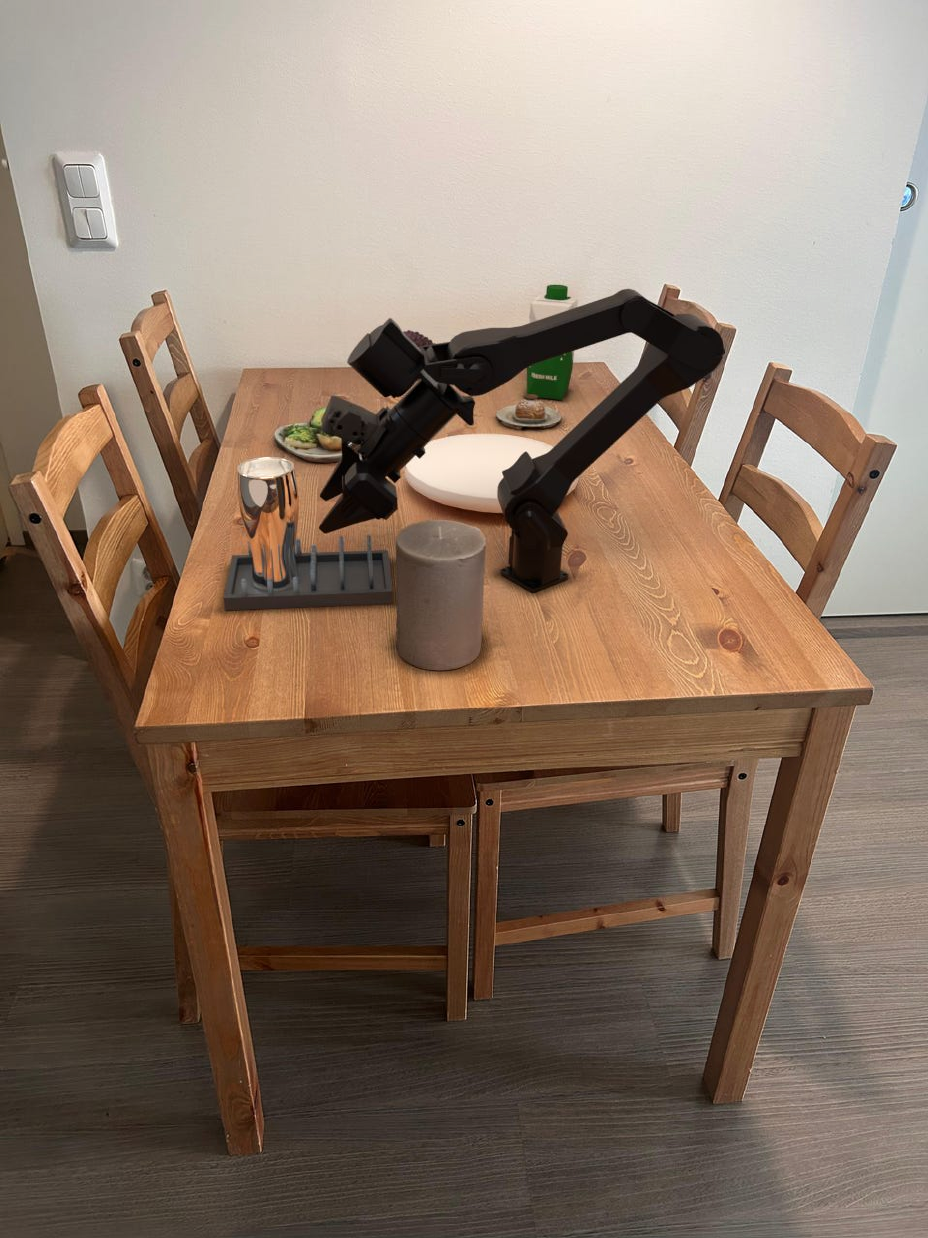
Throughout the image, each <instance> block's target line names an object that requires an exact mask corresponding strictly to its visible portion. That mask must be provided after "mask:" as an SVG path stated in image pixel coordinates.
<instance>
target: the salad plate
mask: <svg viewBox="0 0 928 1238" xmlns="http://www.w3.org/2000/svg"><path fill="white" fill-rule="evenodd" d="M326 408H327V406H324V407H319V409H316V410H315V411H314V413H312V414H311V418H310V419H309V421H307V422H299V423H292V424H286V425H282V426H279V427H278V428H277V429H276V430H275V431H274V433H273V438H274V441H275V443H276V444H277V445H278V446H279V447H281V448H283V449H285V450H286V451H287V452H288V453H290V454H292V455H294V456H296V457H297V458H298V457H299V458H301V459H303V460H304V461H307V462H311V463H320V464H321V463H322V464H333V463H338V462H339V460H340V458H341V456H342V449H341V438H339V437H336V436H333V437H332V436H329V435H327V434H325V433H324V432H323V431H322V430H321V426H322V422H321V420H322V417H323V415H324V412H325V410H326Z"/></svg>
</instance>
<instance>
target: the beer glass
mask: <svg viewBox="0 0 928 1238" xmlns="http://www.w3.org/2000/svg"><path fill="white" fill-rule="evenodd" d="M236 471H237V496H238V506H239V507H238V508H239V514H240V517H241V521H242V525H243V528H244V532H245V536H246V538H247V542H248V541H249V545H250V548H251V553H252V573H251V582H252V584H253V585H254V586H255V587H256V588H258V589H260V590H264V591H268V586H267V579H268V578H271V579H272V584H273V591H283V590H287V589H290V588H292V587H293V577H297V578H298V583H299V582H300V579H301V574H300V570H299V567H298V564H297V559H296V539H297V535H298V526H299V513H300V504H299V503H300V501H299V500H300V499H299V489H298V483H297V477H296V471H295V464H294V463H293V462H292V461H291V460H289V459H287V458H283V457H277V456H261V457H254V458H250V459H246V460H244V461H242V462H240V463H239V464H238V465H237V468H236Z"/></svg>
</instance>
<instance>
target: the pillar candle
mask: <svg viewBox="0 0 928 1238" xmlns="http://www.w3.org/2000/svg"><path fill="white" fill-rule="evenodd" d="M486 545H487V538H486V537H485V535H484V533H482V531H481V529H479V528H478V527H477V526H473V525H470V524H467V523H463V522H460V521H457V520H456V521H455V520H450V519H448V520H447V519H429V520H423V521H418V522H414V523H412V524H408V525H407V526H405V527H404V528H403V529H400V530H399V532H398V533H397V535H396V537H395V599H396V624H395V625H396V644H395V648H396V650H397V653H398V654H397V655H398V656H399V657H401V659H402V660H403V661H405V662H406V663H407V664H409V665H411V666H414V667H416V668H418V669H419V668H420V669H423V670H428V671H451V670H457V669H460V668H462V667H465V666H468V665H470V664H472V663H473V662H474V661H475V660H477V658H478V657H479V655H480V653H481V648H482V638H483V620H484V619H483V617H484V591H485V569H486V568H485V565H486V547H487V546H486Z"/></svg>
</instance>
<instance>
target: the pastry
mask: <svg viewBox="0 0 928 1238" xmlns="http://www.w3.org/2000/svg"><path fill="white" fill-rule="evenodd" d="M538 398H539V397H538V396H537V395H533V394H529V395H527V394H525V395H523V398H522V399H520V401H519V402H518V403H517V404H513V405H508V406H505V407H502V408H500V409H498V410H497V411H496V417H497V418H498V420H500V421H501V425H503V426H504V427H507V428H511V429H515V430H519V431H520V430H522V429H523V428H539V429H540V428H541V429H549V428H552V427H554V426H555V425H557V423H559V422H560V421H561V419H562V414H561V413H560V412H559V411H557V410H556V409H554V408H551V407H548V406H545V405H544V403H543V402H542V400H540V399H538Z"/></svg>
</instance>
